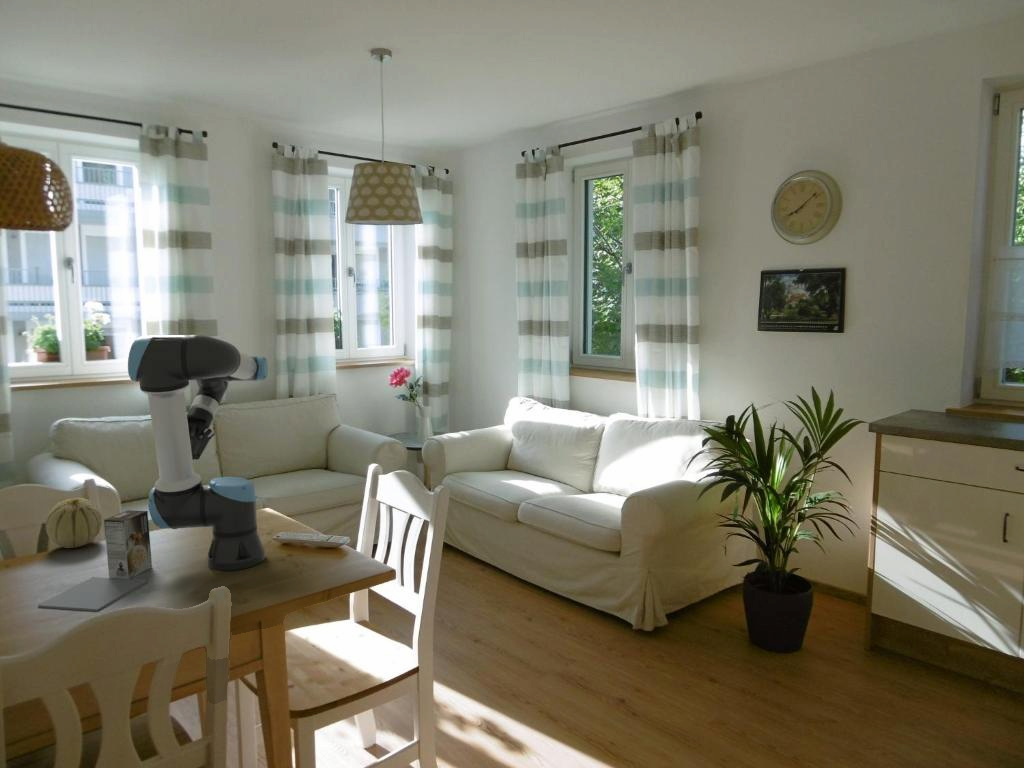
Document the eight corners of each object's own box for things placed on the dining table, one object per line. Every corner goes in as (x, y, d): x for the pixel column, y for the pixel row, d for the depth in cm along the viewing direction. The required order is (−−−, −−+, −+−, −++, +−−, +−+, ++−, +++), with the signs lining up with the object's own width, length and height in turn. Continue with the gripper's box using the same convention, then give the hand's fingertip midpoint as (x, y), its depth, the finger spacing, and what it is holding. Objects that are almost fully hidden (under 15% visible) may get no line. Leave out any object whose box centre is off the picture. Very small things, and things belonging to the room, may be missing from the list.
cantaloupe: (80, 536, 228) (77, 489, 226) (115, 541, 223) (111, 493, 221) (35, 551, 214) (30, 501, 212) (70, 557, 209) (66, 506, 207)
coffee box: (132, 565, 202) (128, 509, 200) (152, 567, 200) (148, 510, 199) (107, 578, 193) (103, 519, 191) (129, 579, 192) (124, 520, 190)
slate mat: (147, 582, 190) (147, 580, 190) (97, 611, 172) (97, 609, 172) (92, 578, 192) (92, 577, 192) (38, 607, 175) (37, 605, 175)
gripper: (229, 420, 230) (202, 485, 215) (184, 419, 232) (154, 483, 218) (219, 406, 224) (190, 472, 210) (173, 405, 227) (141, 470, 212)
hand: (172, 477), depth 214 cm, fingers open, 3 cm apart
